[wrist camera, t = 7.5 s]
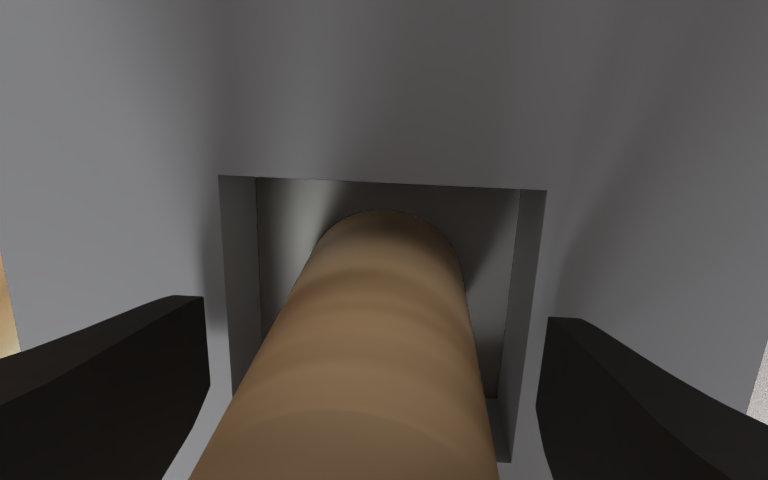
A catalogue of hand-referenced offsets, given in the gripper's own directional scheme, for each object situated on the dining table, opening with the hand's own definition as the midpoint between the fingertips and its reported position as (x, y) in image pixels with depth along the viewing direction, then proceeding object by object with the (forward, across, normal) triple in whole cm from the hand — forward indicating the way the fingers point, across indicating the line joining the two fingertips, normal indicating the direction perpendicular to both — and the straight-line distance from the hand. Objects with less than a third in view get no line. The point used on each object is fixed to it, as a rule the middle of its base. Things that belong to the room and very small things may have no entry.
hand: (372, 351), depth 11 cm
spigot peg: (+3, 0, 0) cm, 3 cm away
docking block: (+3, 0, 0) cm, 3 cm away
